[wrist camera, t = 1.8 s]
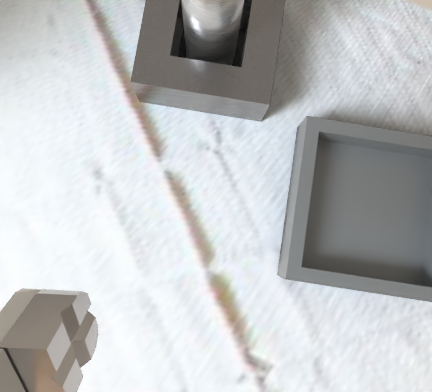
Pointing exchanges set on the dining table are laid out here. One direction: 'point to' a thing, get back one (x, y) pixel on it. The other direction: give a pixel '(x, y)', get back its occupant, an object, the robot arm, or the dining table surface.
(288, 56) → the dining table surface
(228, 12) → the pin
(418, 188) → the tray
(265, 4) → the socket
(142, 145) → the dining table surface
